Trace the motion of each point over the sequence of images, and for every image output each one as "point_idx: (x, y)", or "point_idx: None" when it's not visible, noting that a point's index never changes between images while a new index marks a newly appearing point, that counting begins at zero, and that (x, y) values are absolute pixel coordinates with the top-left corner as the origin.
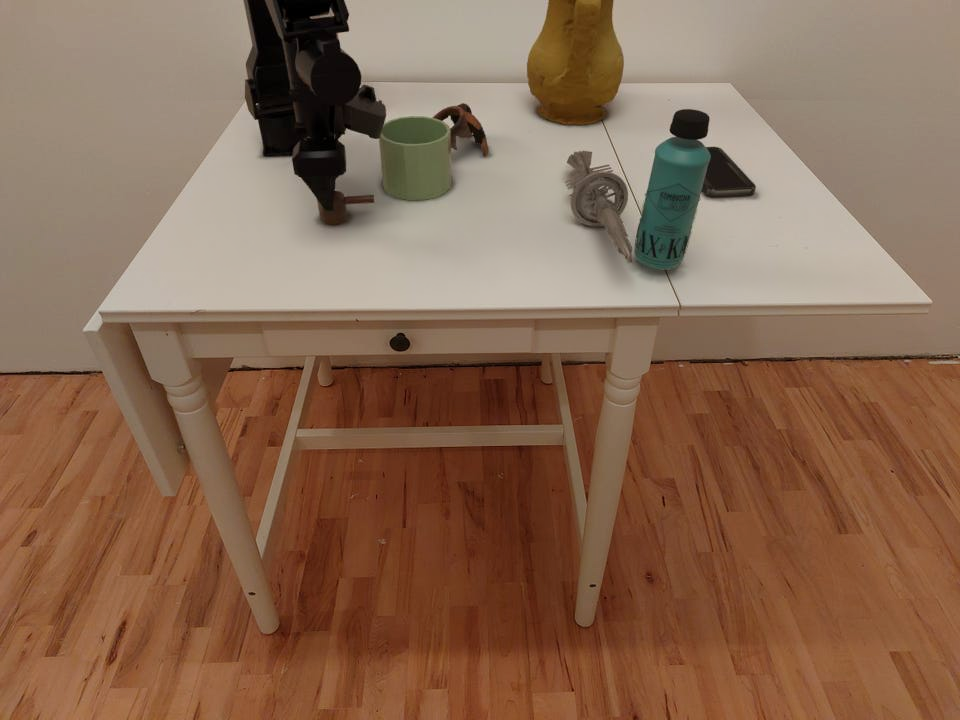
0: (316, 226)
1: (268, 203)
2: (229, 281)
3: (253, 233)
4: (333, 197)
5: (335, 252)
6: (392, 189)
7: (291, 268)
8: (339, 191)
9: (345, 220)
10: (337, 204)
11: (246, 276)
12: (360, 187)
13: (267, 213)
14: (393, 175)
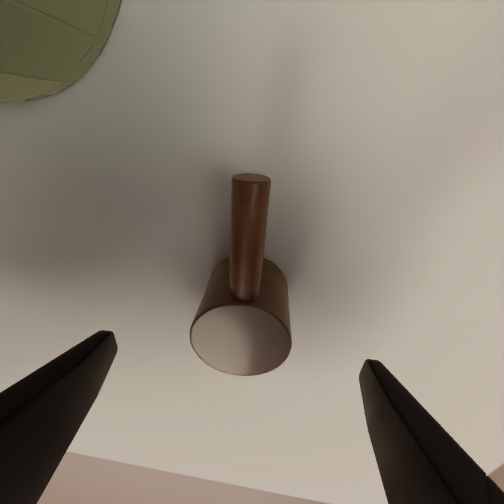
0: None
1: (158, 391)
2: None
3: (277, 416)
4: (439, 428)
5: (436, 300)
6: (71, 54)
7: (450, 380)
8: (201, 315)
9: (271, 262)
10: (288, 323)
11: None
12: (44, 194)
13: (201, 395)
14: (2, 10)
